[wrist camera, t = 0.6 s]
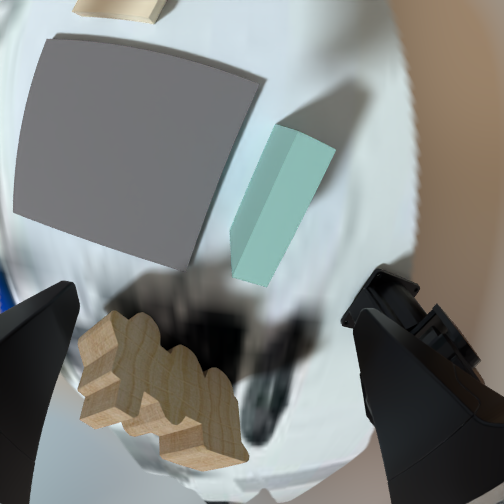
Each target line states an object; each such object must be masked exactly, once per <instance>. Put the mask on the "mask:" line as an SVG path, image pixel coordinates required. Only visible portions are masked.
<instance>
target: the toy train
mask: <svg viewBox="0 0 504 504" xmlns="http://www.w3.org/2000/svg"><path fill="white" fill-rule="evenodd" d="M78 348H79V351H80V355H81V358H82V361H83V365H84V370H83V373H82V377H81V380H80V383H79V386H78V392H80V393H81V394H82V395H83V396H85V400H84V404H83V408H82V412H81V416H80V420H81V421H83V422H84V423H86V424H88V425H89V426H91V427H92V428H94V429H98V428H102V427H105V426H109V425H112V424H116V423H119V422H121V423H122V425H123V428H124V429H125V431H126V432H127V433H128V434H129V435H130V436H134V437H135V436H139V435H143V434H147V433H154V434H156V435H158V436H159V444H160V456H161V457H162V459H165V460H168V461H171V462H173V463H176V464H179V465H182V466H186V467H189V468H192V469H196V470H199V471H208V470H213V469H218V468H223V467H228V466H232V465H237V464H241V463H245V462H247V461H248V460H249V454H248V452H247V450H246V448H245V447H244V445H243V444H242V442H241V433H240V421H239V408H238V401H237V399H236V397H235V396H234V394H233V388H232V385H231V382H230V381H229V379H228V378H227V376H226V375H225V374H224V373H223V372H222V371H221V370H219V369H218V368H210V369H208V370H206V371H204V372H202V369H201V366H200V364H199V362H198V360H197V358H196V356H195V354H194V353H193V352H192V351H191V350H190V349H188V348H187V347H185V346H183V345H181V344H180V345H178V346H175V347H173V348H172V349H170V350H168V351H166V350H165V349H164V348H163V347H161V346H160V332H159V329H158V326H157V324H156V323H155V322H154V320H153V319H152V318H151V316H149V315H147V314H145V313H144V312H141V313H138V314H136V315H134V316H133V317H132V318H130V319H129V320H128V319H127V318H125V317H124V316H123V315H121V314H120V313H119V312H117V311H112V312H110V313H109V314H108V315H107V316H105V317H104V318H103V319H102V320H100V321H99V322H98V323H97V324H96V325H94V326H93V327H92V328H91V329H89V330H88V331H87V332H86V333H85V334H83V335H82V336H81V337H80V338H79V340H78Z"/></svg>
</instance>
